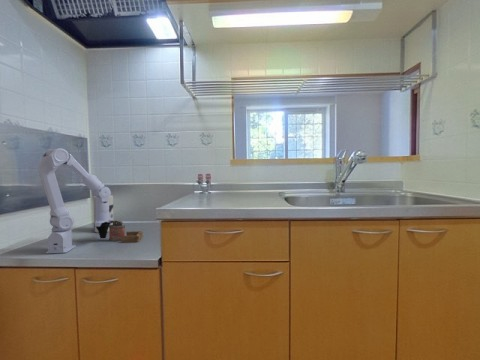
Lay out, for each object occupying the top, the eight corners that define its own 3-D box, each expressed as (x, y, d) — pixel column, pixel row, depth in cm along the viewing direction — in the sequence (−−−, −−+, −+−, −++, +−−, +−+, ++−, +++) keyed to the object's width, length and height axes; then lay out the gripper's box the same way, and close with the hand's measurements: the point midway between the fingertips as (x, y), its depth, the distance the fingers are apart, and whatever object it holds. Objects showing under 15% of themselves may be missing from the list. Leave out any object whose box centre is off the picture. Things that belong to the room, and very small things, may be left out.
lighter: (126, 239, 131) (126, 219, 131) (122, 241, 128) (122, 221, 127) (111, 239, 132) (111, 219, 132) (107, 240, 129) (107, 220, 128)
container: (105, 233, 144) (104, 197, 143) (89, 232, 146) (89, 196, 145) (117, 229, 153) (117, 195, 152) (102, 228, 155) (102, 194, 154)
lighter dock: (138, 242, 127) (138, 236, 127) (121, 242, 126) (121, 236, 125) (142, 236, 137) (142, 231, 137) (127, 237, 135) (127, 231, 135)
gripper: (106, 212, 122) (107, 241, 122) (115, 208, 136) (116, 233, 137) (90, 213, 121) (90, 242, 121) (101, 208, 135) (101, 234, 135)
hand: (103, 237), depth 129 cm, fingers closed
